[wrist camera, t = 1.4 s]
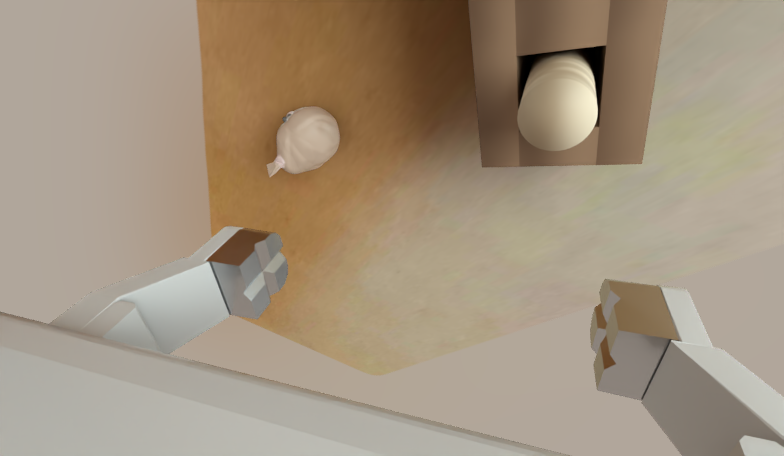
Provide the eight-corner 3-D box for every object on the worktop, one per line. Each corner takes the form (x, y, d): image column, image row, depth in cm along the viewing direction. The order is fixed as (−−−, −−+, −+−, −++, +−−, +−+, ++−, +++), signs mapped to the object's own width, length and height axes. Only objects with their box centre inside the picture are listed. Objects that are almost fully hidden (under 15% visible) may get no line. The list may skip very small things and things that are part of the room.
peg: (594, 33, 27) (600, 75, 20) (590, 94, 29) (594, 149, 22) (530, 42, 28) (516, 82, 21) (530, 99, 30) (518, 152, 24)
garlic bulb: (288, 101, 44) (243, 131, 38) (339, 94, 41) (299, 125, 35) (308, 156, 47) (270, 191, 41) (356, 153, 45) (323, 190, 39)
